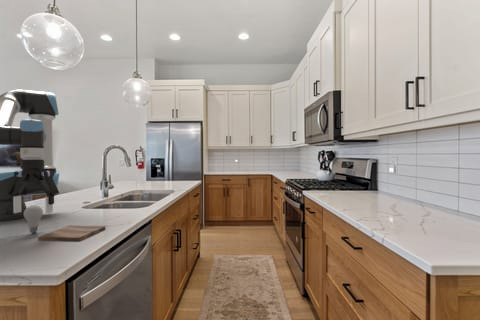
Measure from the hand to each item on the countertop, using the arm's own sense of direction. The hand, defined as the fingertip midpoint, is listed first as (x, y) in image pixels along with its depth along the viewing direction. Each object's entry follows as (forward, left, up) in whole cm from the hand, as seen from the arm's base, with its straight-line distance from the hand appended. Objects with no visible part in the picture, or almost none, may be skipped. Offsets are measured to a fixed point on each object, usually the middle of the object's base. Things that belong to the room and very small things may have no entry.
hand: (33, 212), depth 109 cm
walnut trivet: (0, +17, -8) cm, 19 cm away
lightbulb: (0, 0, -8) cm, 8 cm away
